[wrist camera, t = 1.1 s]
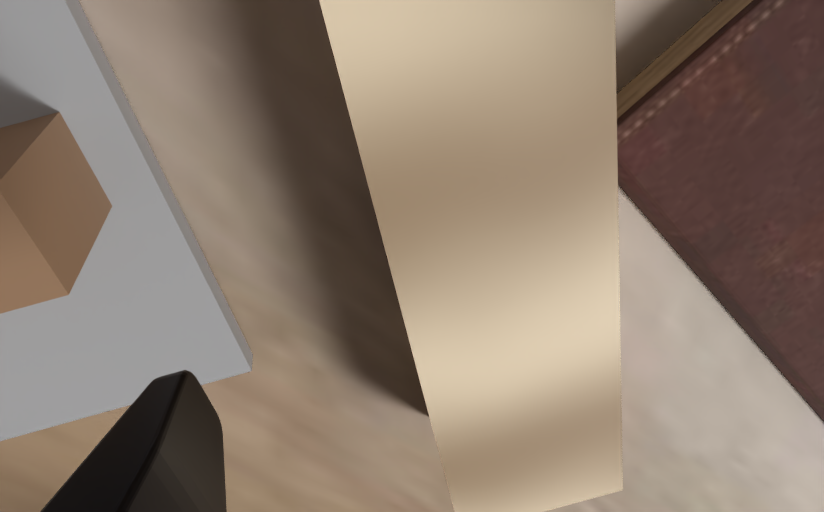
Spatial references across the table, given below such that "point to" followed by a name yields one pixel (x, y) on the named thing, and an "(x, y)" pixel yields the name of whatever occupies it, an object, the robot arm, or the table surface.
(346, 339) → the table surface
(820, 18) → the notebook
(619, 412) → the beech bar
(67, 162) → the fulcrum stand
